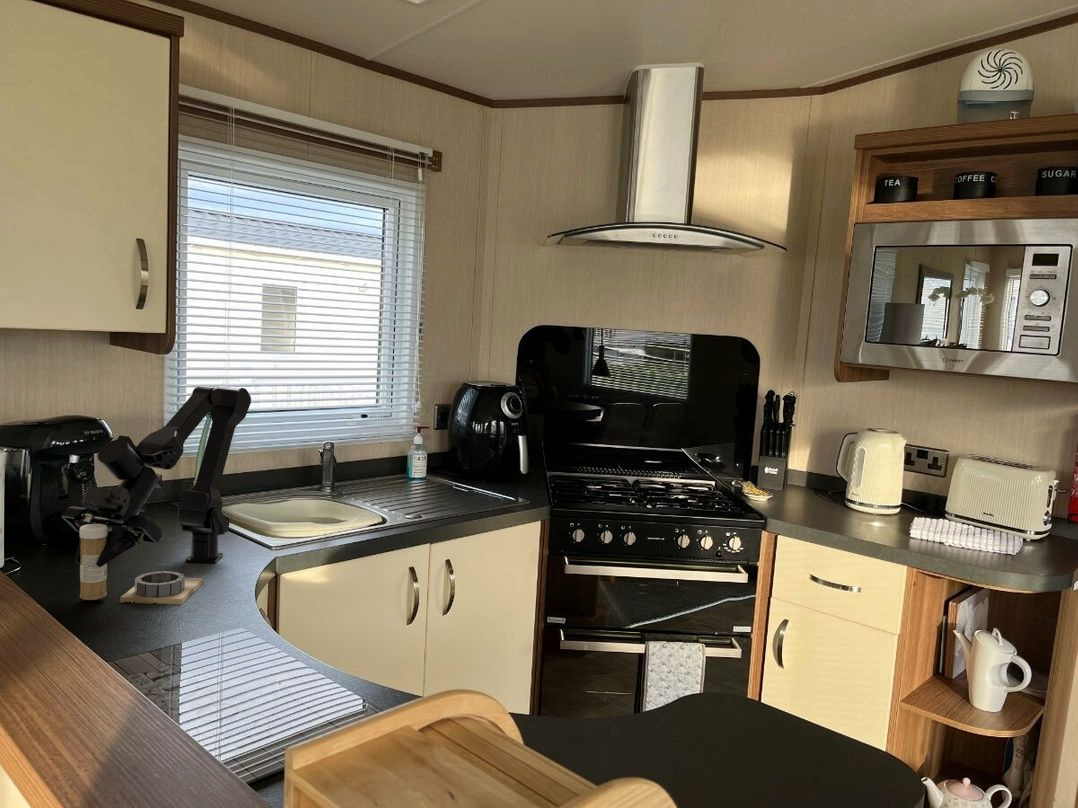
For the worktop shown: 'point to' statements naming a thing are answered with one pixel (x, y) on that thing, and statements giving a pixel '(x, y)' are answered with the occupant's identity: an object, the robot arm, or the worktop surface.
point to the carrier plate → (190, 588)
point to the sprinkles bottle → (92, 561)
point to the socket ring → (159, 584)
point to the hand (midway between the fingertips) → (87, 564)
